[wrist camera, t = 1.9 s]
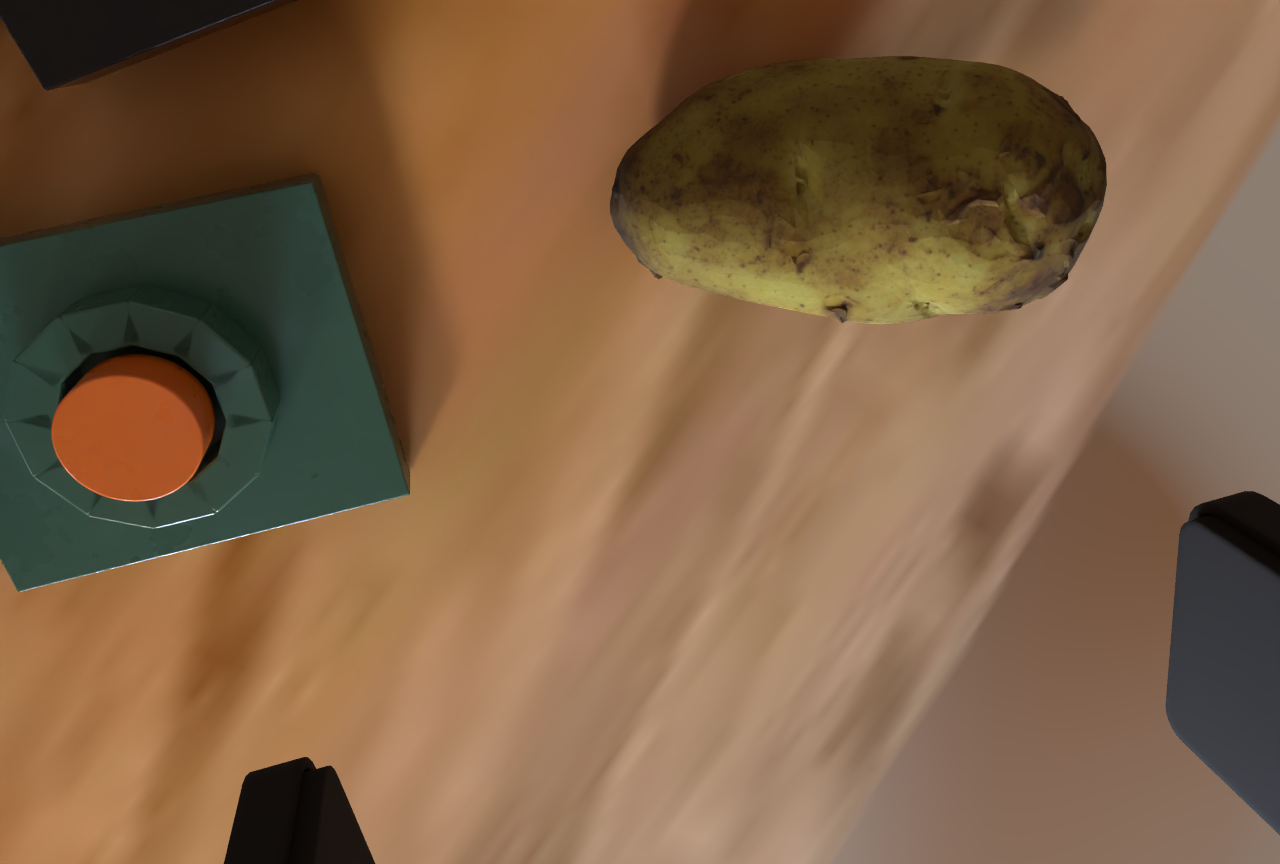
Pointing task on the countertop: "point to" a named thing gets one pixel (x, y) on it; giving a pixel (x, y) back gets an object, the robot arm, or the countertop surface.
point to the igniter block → (212, 352)
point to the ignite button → (134, 427)
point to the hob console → (113, 32)
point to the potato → (865, 189)
